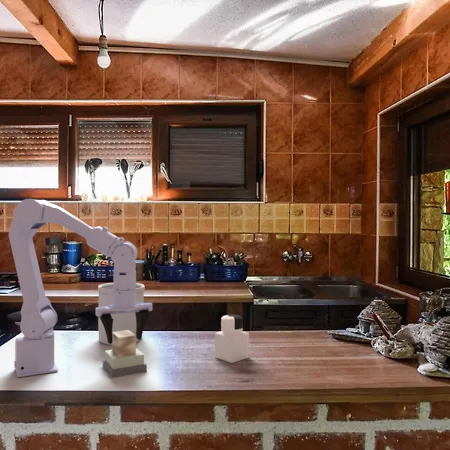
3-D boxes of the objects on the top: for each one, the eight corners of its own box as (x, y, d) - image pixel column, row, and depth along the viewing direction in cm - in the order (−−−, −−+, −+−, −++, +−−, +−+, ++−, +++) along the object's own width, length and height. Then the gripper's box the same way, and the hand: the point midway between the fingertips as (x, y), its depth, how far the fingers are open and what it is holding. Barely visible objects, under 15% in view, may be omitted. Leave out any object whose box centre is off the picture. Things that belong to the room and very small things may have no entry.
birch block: (118, 357, 112) (118, 337, 112) (111, 350, 117) (111, 332, 117) (135, 354, 114) (135, 335, 114) (128, 348, 119) (128, 329, 119)
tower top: (113, 369, 110) (113, 359, 110) (105, 360, 117) (105, 350, 117) (144, 364, 114) (144, 354, 114) (134, 355, 121) (134, 346, 121)
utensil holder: (147, 333, 151) (147, 282, 151) (140, 346, 136) (140, 289, 136) (104, 333, 151) (104, 281, 150) (92, 346, 136) (92, 289, 135)
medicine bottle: (231, 352, 131) (231, 311, 131) (249, 357, 126) (249, 315, 126) (213, 357, 126) (214, 315, 126) (231, 363, 121) (232, 319, 121)
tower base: (111, 380, 110) (112, 370, 110) (102, 369, 118) (102, 359, 118) (146, 374, 114) (146, 364, 114) (135, 363, 122) (135, 354, 122)
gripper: (100, 293, 108) (100, 348, 109) (156, 289, 115) (156, 340, 116) (93, 289, 114) (93, 341, 115) (147, 285, 122) (147, 334, 122)
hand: (124, 340), depth 116 cm, fingers open, 7 cm apart
